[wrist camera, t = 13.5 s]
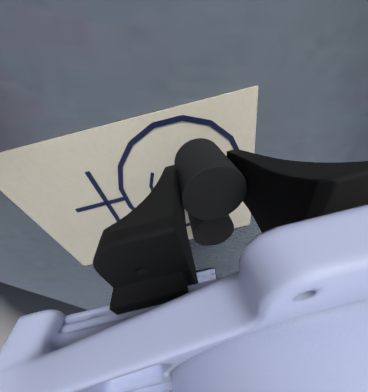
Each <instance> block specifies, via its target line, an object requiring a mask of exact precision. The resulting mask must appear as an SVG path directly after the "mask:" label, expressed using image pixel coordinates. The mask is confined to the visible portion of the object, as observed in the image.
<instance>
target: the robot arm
mask: <svg viewBox="0 0 368 392" xmlns="http://www.w3.org/2000/svg"><path fill="white" fill-rule="evenodd" d="M226 152H227V157H228V158H229V160H230V161H231V162H232V163H233V164H234V165H235V166H236V167H237V169H238V170H239V171H240V172H241V173H242V174H243V176H244V177H245V180H246V183H247V191H246V195H245V198H244V200H243V202H244V204H245V205H246V207H247V208H248V209H249V211H250V212H251V214H252V215H253V217H254V219H255V221H256V222H257V224H258V226H259V228H260V230H261V232H262V233H261V234H259V235H257V236H256V237H255V238H254V239H253V240H251V241H250V242H249V243H248V244H247V245H246V246H245V248H244V250H243V252H242V254H241V257H240V259H239V271H238V272H235V273H233V274H231V275H228V276H226V277H222V278H218V279H216V274H215V270H214V269H209V270H205V271H201V272H197V273H196V270H195V265H194V261H193V257H192V252H191V247H190V243H189V238H188V234H187V228H186V220H185V210H184V207H183V204H182V200H181V195H180V190H179V185H178V178H177V174H176V170H175V166H174V165H171V166H167V167H165V168H164V170H163V173H162V175H161V177H160V179H159V180H158V182H157V184H156V185H155V187H154V188H153V190H152V191H151V192H150V194H149V195H148V196H147V197H146V198H145V199H144V200H143V201H142V202H141V203H140V204H139V205H138V206H137V207H136V208H135V209H134V210H132V211H131V212H130V213H129V214H127V215H126V216H124V217H123V218H122V219H120V220H119V221H117V222H116V223H114V224H112V225H111V226H109V227H108V228H106V229H104V230H103V232H102V235H101V238H100V240H99V243H98V246H97V249H96V252H95V256H94V259H93V266H94V268H95V270H96V271H97V272H98V273H99V274H100V275H101V276H102V277H103V278H104V279H105V280H106V281H107V282H108V283H109V284H110V285H111V286H112V287H113V293H112V298H111V303H110V305H108V306H104V307H100V308H96V309H92V310H88V311H84V312H80V313H75V314H71V315H67V316H65V315H64V314H63V313H62V312H60V311H57V310H51V309H50V310H44V311H40V312H36V313H32V314H27V315H23V316H21V317H20V318H19V319H18V321H17V323H16V325H15V326H14V328H13V330H12V332H11V334H10V335H9V337H8V339H7V341H6V342H5V344H4V346H3V348H2V349H1V351H0V392H163V391H168V390H169V392H368V161H363V162H346V163H314V162H299V161H290V160H282V159H276V158H271V157H267V156H262V155H258V154H255V153H251V152H247V151H243V150H239V149H234V150H230V151H226Z"/></svg>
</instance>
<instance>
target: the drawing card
mask: <svg viewBox="0 0 368 392" xmlns="http://www.w3.org/2000/svg"><path fill="white" fill-rule="evenodd" d="M257 100H258V86H253V87H249V88H245V89H241V90H237V91H233V92H230V93H226V94H222V95H218V96H214V97H210V98H206V99H203V100H199V101H195V102H191V103H187V104H183V105H179V106H176V107H172V108H168V109H164V110H160V111H156V112H153V113H149V114H145V115H141V116H137V117H133V118H129V119H126V120H122V121H118V122H114V123H110V124H106V125H103V126H99V127H95V128H91V129H87V130H83V131H79V132H76V133H72V134H68V135H64V136H60V137H56V138H52V139H49V140H45V141H41V142H37V143H33V144H29V145H26V146H22V147H18V148H14V149H10V150H6V151H2V152H0V190H1V191H2V192H3V193H4V194H5V195H6V196H7V197H8V198H9V199H11V200H12V201H13V202H14V203H15V204H16V205H17V206H18V207H19V208H21V209H22V210H23V211H24V212H25V213H26V214H27V215H28V216H29V217H31V218H32V219H33V220H34V221H35V222H36V223H37V224H38V225H39V226H40V227H42V228H43V229H44V230H45V231H46V232H47V233H48V234H49V235H50V236H52V237H53V238H54V239H55V240H56V241H57V242H58V243H59V244H60V245H61V246H63V247H64V248H65V249H66V250H67V251H68V252H69V253H70V254H71V255H73V256H74V257H75V258H76V259H77V260H78V261H79V262H80V263H81V264H83V265H84V266H86V265H90V264H93V259H94V256H95V252H96V249H97V246H98V243H99V240H100V238H101V235H102V232H103V230H104V229H106V228H108V227H109V226H111V225H112V224H114V223H116V222H117V221H119V220H120V219H122V218H123V217H124V216H126V215H127V214H129V213H130V212H131V211H132V210H134V209H135V208H136V207H137V206H138V205H139V204H140V203H141V202H142V201H143V200H144V199H145V198H146V197H147V196H148V195H149V194H150V192H151V191H152V190H153V188H154V187H155V185H156V184H157V182H158V180H159V179H160V177H161V175H162V173H163V170H164V168H165V167H167V166H171V165H174V160H175V156H176V153H177V152H178V150H179V149H180V147H181V146H182V145H184V144H185V143H186V142H188V141H190V140H193V139H197V138H204V139H208V140H211V141H212V142H214V143H215V144H216V145H217V146H218V147H219V148H220V149H221V151H222V152H223V153H224V154H225V155H226V156H227V152H226V151H230V150H234V149H239V150H243V151H247V152H251V153H254V150H255V133H256V116H257ZM184 210H185V209H184ZM229 216H230V218H231V220H232V222H233V224H234V228H238V227H242V226H246V225H250V216H251V212H250V211H249V209H248V208H247V207H246V205H245V204H244V202H243V201H242V203H241V204H240V205H239V206H238V208H236V209H235V210H234V211H233V212H232V213H230V214H229ZM185 220H186V228H187V234H188V238H189V240H190V239H194V238H193V234H192V230H191V226H190V221H189V217H188V213H187V211H186V210H185Z"/></svg>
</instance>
